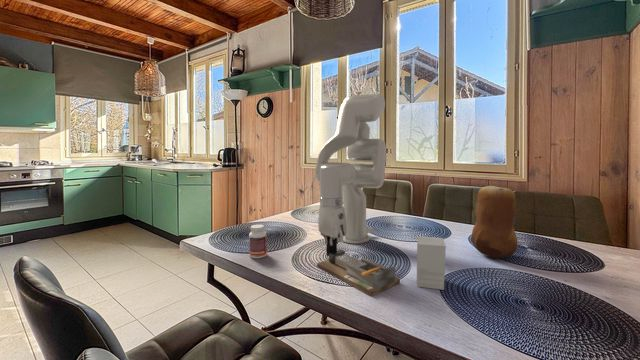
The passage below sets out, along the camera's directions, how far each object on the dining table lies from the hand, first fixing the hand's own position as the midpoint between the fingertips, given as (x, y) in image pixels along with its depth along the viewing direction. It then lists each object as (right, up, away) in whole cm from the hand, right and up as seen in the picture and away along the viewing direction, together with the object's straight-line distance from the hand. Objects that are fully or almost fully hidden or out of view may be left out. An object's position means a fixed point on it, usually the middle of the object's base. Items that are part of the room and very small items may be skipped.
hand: (331, 255), depth 101 cm
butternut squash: (+57, -2, +4) cm, 57 cm away
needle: (+11, -3, -18) cm, 21 cm away
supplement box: (+28, -4, -15) cm, 32 cm away
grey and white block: (+5, -2, -7) cm, 8 cm away
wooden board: (+7, -4, -9) cm, 12 cm away
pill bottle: (-26, -2, +7) cm, 27 cm away
